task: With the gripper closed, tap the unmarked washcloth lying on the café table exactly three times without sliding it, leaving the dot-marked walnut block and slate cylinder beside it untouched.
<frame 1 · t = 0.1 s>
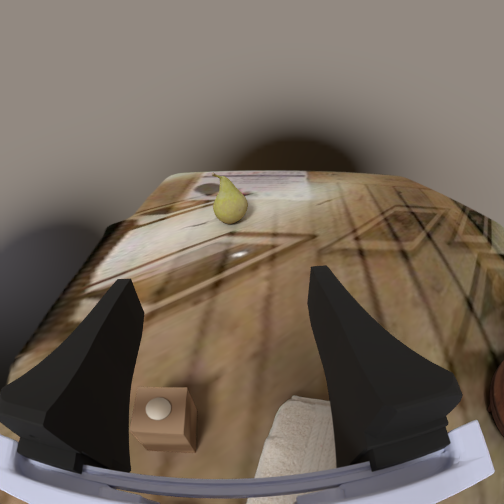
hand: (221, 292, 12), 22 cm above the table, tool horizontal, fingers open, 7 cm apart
fruit: (230, 223, 64), on the table
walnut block: (173, 431, 27), on the table
washcloth: (320, 486, 22), on the table
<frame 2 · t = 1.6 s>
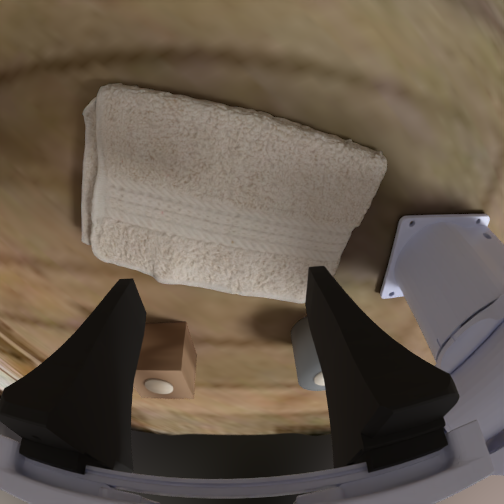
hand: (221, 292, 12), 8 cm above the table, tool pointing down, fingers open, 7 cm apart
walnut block: (165, 339, 27), on the table
washcloth: (224, 190, 20), on the table
slate cylinder: (317, 330, 28), on the table
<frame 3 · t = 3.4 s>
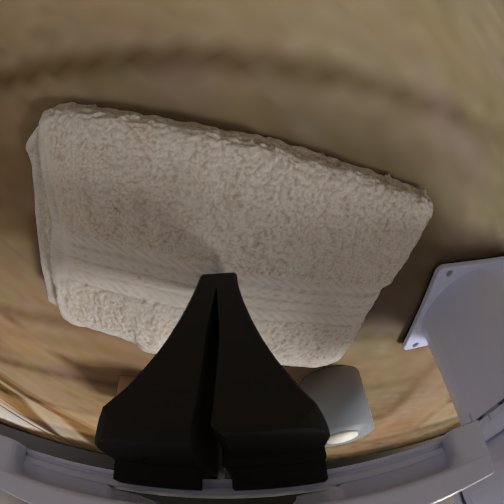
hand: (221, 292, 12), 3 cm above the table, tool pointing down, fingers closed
washcloth: (220, 239, 15), on the table
slate cylinder: (329, 381, 23), on the table
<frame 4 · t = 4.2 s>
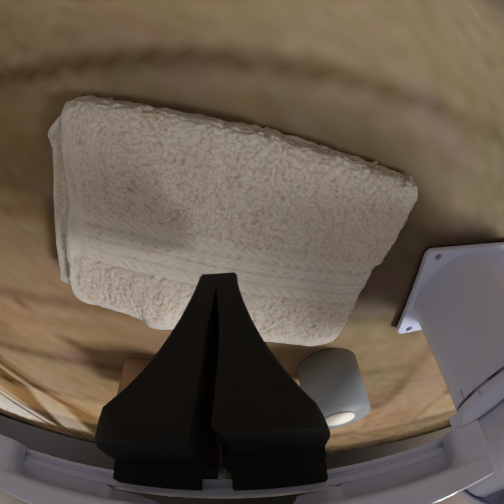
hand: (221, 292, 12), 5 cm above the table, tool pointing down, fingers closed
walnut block: (161, 374, 24), on the table
washcloth: (223, 221, 17), on the table
slate cylinder: (326, 365, 24), on the table
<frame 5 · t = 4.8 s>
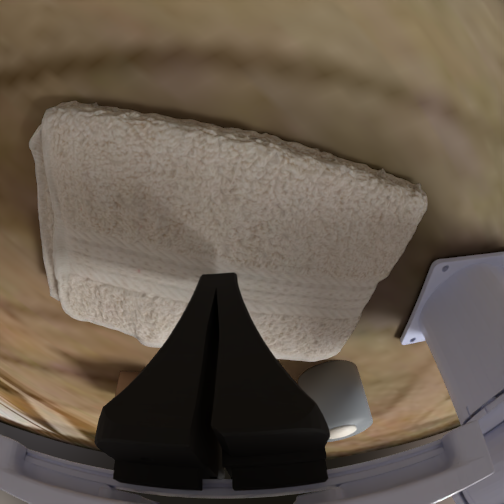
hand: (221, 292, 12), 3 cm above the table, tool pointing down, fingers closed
washcloth: (219, 234, 15), on the table
slate cylinder: (328, 377, 24), on the table
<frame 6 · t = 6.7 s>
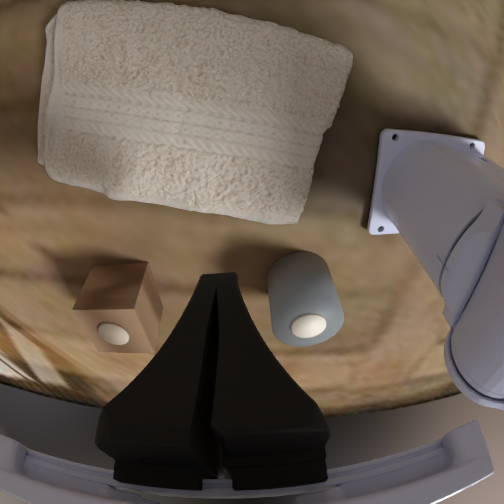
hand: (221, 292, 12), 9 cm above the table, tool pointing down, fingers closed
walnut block: (128, 286, 25), on the table
washcloth: (181, 99, 17), on the table
slate cylinder: (298, 276, 25), on the table
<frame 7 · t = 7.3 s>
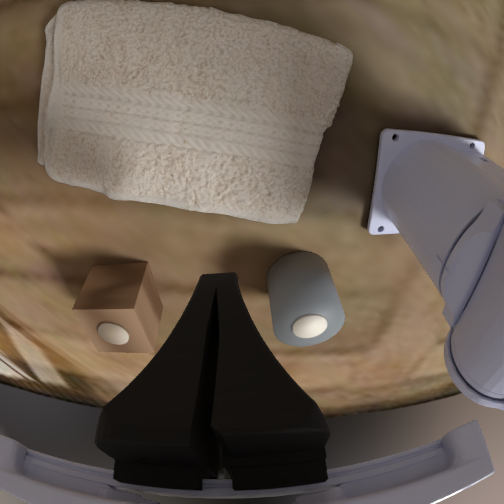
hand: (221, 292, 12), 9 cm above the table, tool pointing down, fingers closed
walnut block: (128, 286, 25), on the table
washcloth: (181, 98, 17), on the table
slate cylinder: (298, 276, 25), on the table
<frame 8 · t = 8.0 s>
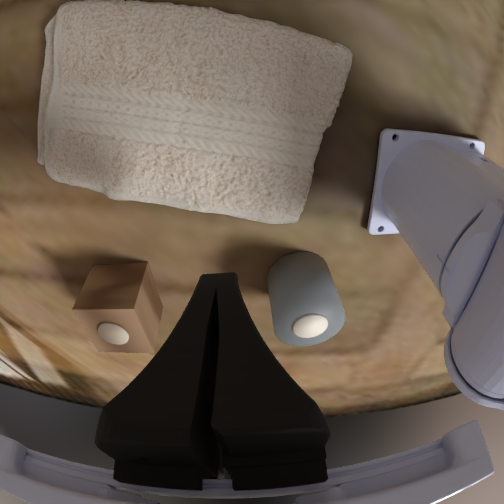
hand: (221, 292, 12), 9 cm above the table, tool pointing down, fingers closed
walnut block: (128, 286, 25), on the table
washcloth: (180, 98, 17), on the table
slate cylinder: (298, 276, 25), on the table
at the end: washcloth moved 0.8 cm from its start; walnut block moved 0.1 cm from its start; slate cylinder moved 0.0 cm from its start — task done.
